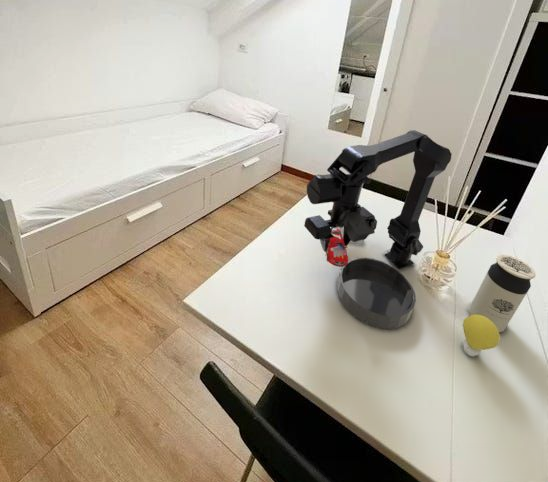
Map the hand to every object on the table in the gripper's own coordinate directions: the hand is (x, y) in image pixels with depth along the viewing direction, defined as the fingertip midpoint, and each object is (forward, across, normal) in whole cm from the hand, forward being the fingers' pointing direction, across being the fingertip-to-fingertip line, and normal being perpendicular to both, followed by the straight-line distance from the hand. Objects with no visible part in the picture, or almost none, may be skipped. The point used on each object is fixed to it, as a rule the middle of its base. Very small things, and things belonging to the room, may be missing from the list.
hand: (334, 247), depth 78 cm
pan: (+11, +9, -9) cm, 17 cm away
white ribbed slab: (+11, +17, +12) cm, 24 cm away
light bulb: (+11, +19, -29) cm, 37 cm away
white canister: (+11, +32, -26) cm, 43 cm away
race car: (+1, 0, 0) cm, 1 cm away
